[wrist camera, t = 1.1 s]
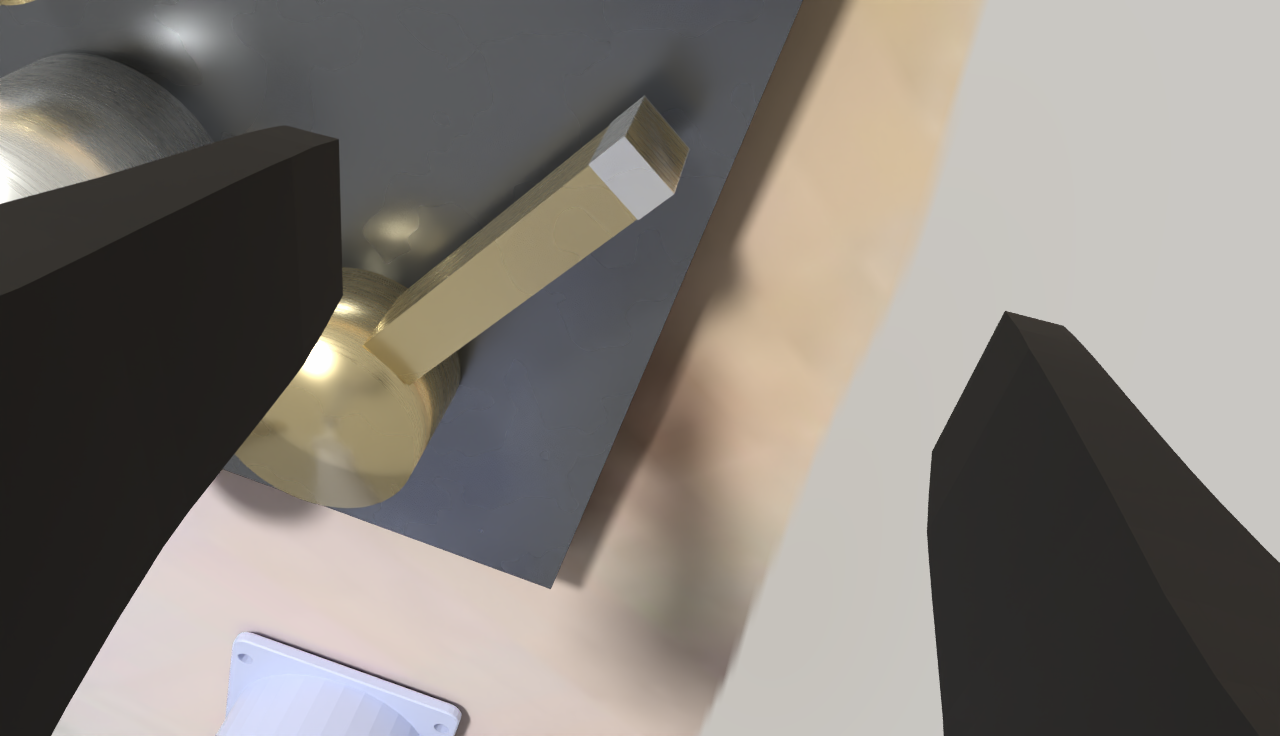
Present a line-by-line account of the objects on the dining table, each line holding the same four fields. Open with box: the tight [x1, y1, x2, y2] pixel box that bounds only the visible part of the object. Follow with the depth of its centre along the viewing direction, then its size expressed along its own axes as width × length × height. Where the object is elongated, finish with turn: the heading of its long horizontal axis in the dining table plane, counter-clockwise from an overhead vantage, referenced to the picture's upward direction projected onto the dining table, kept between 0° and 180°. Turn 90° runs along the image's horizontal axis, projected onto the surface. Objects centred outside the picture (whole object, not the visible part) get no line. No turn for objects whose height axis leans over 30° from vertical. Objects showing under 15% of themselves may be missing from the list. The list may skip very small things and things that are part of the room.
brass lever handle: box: [235, 95, 690, 508], centre depth 19 cm, size 11×4×3 cm, turn 131°
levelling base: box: [0, 0, 803, 589], centre depth 19 cm, size 18×16×7 cm
